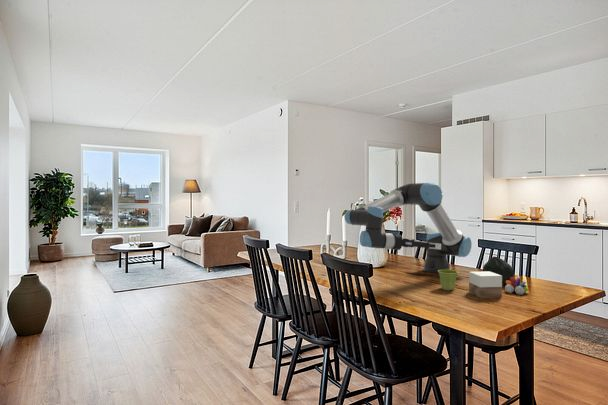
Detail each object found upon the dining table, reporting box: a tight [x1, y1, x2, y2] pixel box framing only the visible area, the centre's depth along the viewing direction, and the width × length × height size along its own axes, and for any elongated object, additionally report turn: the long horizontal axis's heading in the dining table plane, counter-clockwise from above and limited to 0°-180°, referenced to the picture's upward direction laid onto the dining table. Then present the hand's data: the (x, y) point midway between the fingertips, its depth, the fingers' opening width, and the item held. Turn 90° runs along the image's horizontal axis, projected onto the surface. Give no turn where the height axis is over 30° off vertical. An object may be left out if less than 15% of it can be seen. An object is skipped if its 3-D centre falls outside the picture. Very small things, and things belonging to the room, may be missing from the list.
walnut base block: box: [468, 281, 503, 299], centre depth 175 cm, size 10×10×5 cm
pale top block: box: [468, 271, 503, 288], centre depth 175 cm, size 10×10×5 cm
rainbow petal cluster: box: [504, 276, 529, 296], centre depth 179 cm, size 8×10×7 cm
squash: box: [481, 256, 515, 286], centre depth 197 cm, size 14×15×15 cm
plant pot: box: [438, 269, 459, 291], centre depth 186 cm, size 9×9×9 cm
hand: (433, 245), depth 185 cm, fingers open, 13 cm apart
